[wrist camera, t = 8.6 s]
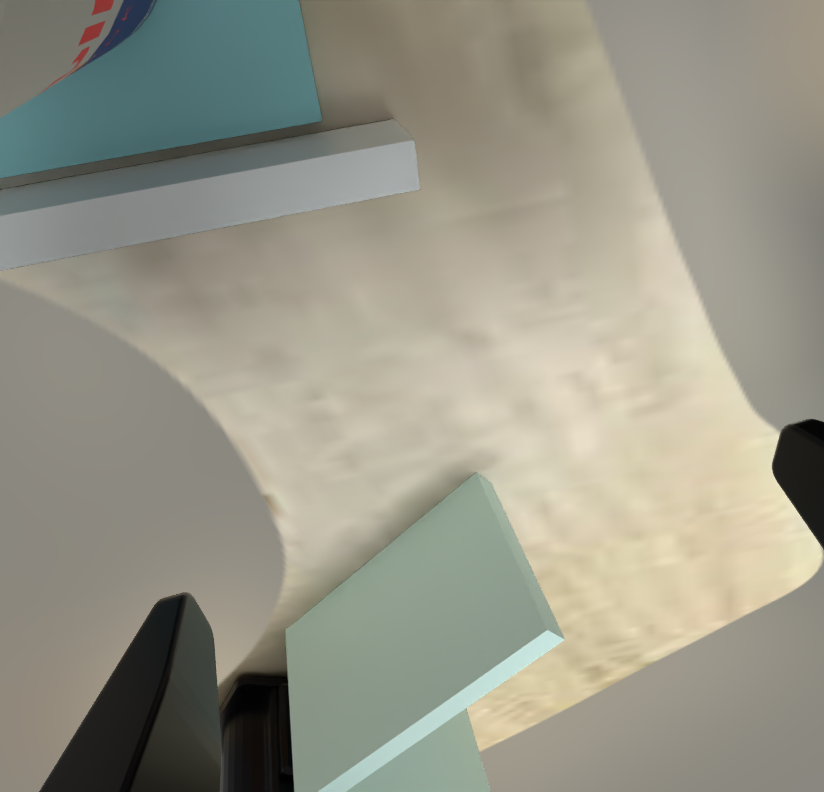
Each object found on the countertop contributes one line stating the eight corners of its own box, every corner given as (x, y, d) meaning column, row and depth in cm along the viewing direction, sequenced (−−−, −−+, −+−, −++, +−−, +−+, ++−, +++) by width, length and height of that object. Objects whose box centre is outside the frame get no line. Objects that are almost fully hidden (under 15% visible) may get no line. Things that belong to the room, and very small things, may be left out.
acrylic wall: (394, 119, 17) (414, 139, 15) (400, 163, 17) (419, 189, 15) (-153, 217, 15) (-214, 255, 13) (-122, 261, 16) (-175, 304, 14)
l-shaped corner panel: (448, 692, 35) (489, 843, 29) (285, 629, 28) (295, 807, 22) (615, 573, 32) (701, 715, 26) (476, 471, 25) (547, 630, 19)
